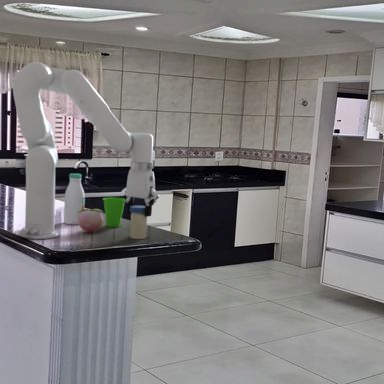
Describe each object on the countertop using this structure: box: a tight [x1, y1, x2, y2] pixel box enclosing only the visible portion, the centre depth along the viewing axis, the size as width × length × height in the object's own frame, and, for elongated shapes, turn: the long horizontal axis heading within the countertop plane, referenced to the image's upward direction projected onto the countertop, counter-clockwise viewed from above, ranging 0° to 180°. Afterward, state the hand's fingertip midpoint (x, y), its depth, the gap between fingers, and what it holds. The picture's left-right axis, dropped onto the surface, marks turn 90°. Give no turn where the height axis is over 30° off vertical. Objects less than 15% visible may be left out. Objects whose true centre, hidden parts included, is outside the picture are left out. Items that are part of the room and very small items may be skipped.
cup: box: [102, 197, 126, 228], centre depth 227 cm, size 9×9×11 cm
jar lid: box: [130, 204, 146, 213], centre depth 207 cm, size 7×7×2 cm
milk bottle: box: [63, 173, 86, 225], centre depth 227 cm, size 8×8×20 cm
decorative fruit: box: [77, 205, 105, 234], centre depth 211 cm, size 9×8×10 cm
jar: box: [129, 213, 148, 240], centre depth 208 cm, size 6×6×11 cm
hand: (139, 214), depth 208 cm, fingers open, 7 cm apart
